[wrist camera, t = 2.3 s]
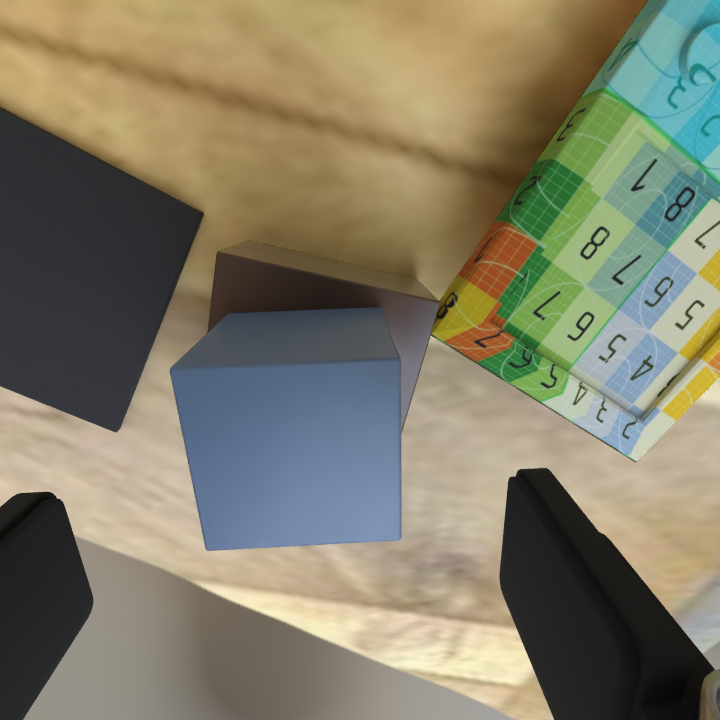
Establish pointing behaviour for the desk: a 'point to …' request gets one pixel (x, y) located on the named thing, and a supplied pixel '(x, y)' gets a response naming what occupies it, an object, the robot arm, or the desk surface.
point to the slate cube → (293, 428)
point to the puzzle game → (612, 244)
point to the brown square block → (325, 296)
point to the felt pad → (81, 272)
